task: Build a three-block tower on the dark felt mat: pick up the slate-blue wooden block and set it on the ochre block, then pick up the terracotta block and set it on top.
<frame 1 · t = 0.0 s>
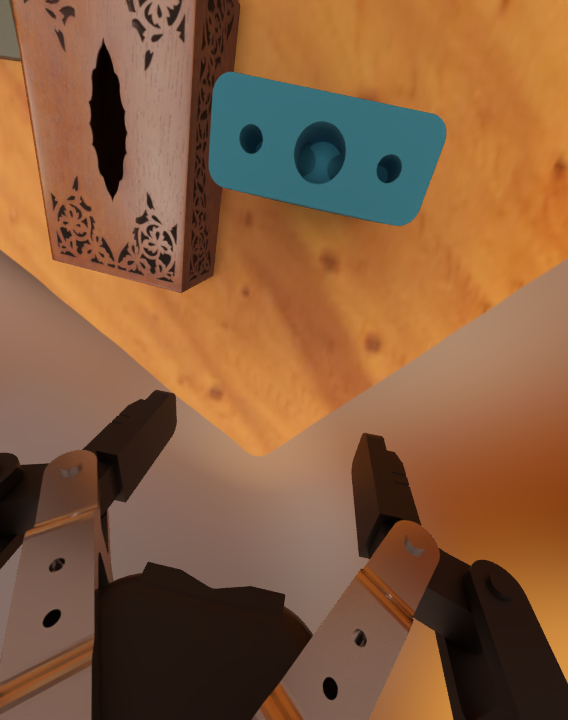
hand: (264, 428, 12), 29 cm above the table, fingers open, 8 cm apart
block: (323, 186, 33), on the table
tissue box cover: (166, 151, 34), on the table
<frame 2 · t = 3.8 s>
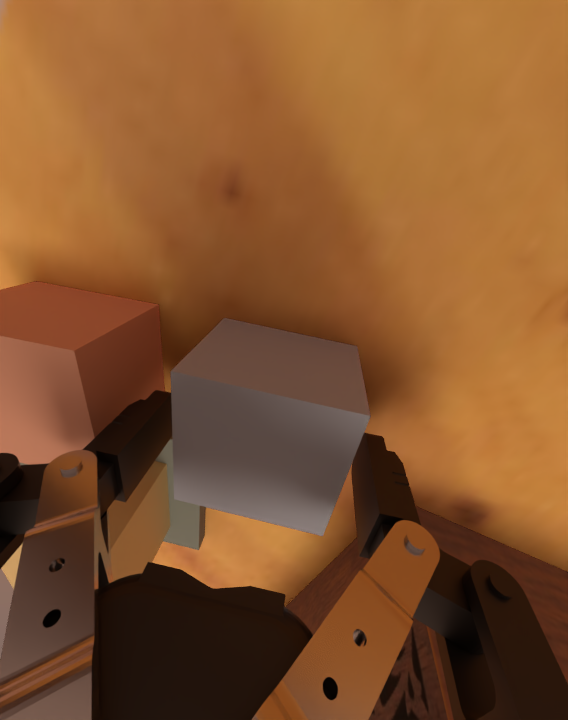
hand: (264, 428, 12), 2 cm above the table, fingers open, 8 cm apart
slate block: (279, 386, 14), on the table
felt mat: (103, 466, 19), on the table
ochre block: (122, 486, 18), point 1 cm above the table, touching felt mat
terracotta block: (108, 349, 15), on the table, touching gripper
tissue box cover: (383, 616, 23), on the table
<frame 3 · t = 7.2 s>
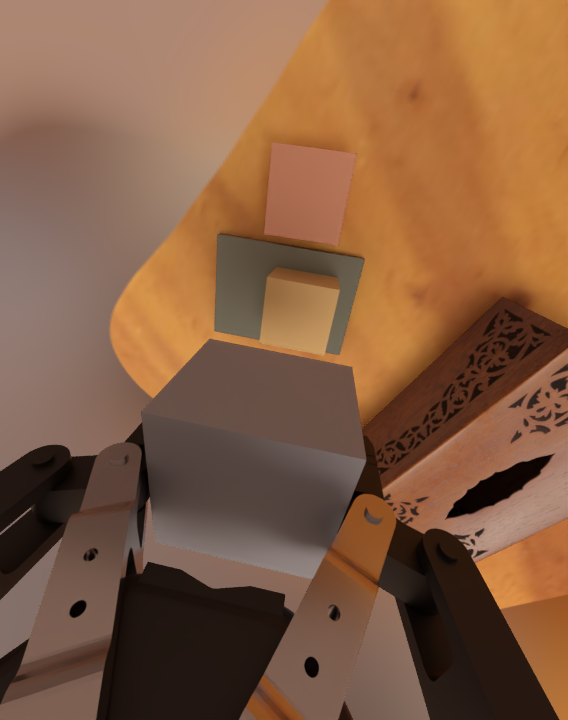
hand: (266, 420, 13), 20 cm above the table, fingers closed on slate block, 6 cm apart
slate block: (270, 410, 13), point 19 cm above the table, touching gripper
felt mat: (283, 296, 30), on the table
ochre block: (301, 302, 29), point 1 cm above the table, touching felt mat
terracotta block: (310, 199, 26), on the table
tissue box cover: (451, 417, 34), on the table
when the fingers open (8 cm above the table, at t = 9.9 s): slate block stays where it is, resting on ochre block.
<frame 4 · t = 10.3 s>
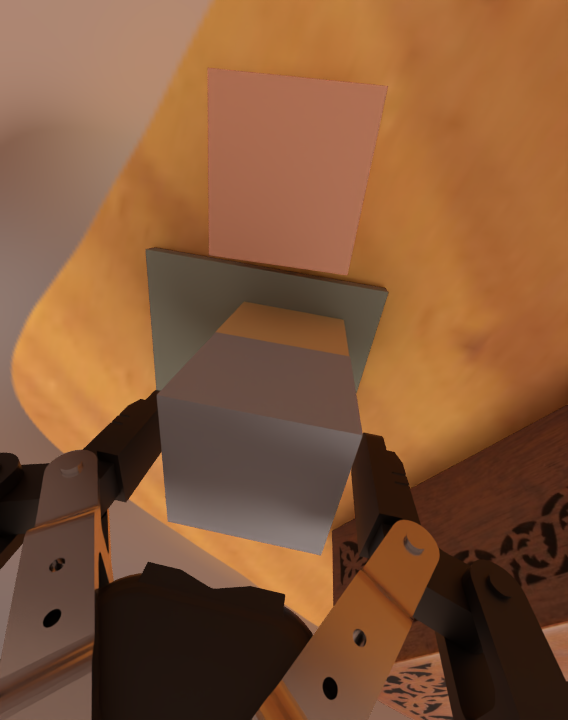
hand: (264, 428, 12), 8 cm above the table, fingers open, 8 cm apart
slate block: (274, 399, 14), point 6 cm above the table, touching ochre block
felt mat: (258, 343, 19), on the table
ochre block: (286, 355, 18), point 1 cm above the table, touching felt mat, slate block
terracotta block: (297, 191, 15), on the table
tissue box cover: (505, 509, 24), on the table
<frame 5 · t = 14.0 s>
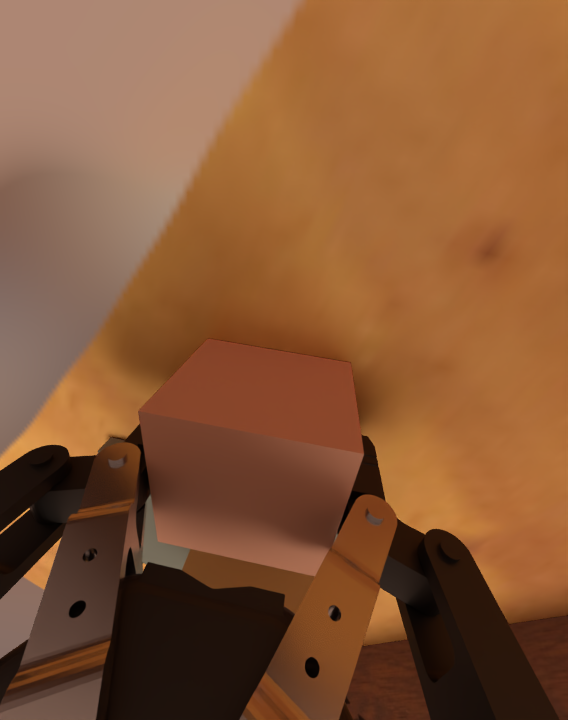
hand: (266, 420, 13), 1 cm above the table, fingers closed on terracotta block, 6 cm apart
felt mat: (230, 521, 18), on the table
ochre block: (259, 546, 17), point 1 cm above the table, touching felt mat, slate block
terracotta block: (271, 408, 13), on the table, touching gripper
tissue box cover: (504, 667, 22), on the table
when the fingers open (13 cm above the table, at t = 19.5 s): terracotta block stays where it is, resting on slate block.
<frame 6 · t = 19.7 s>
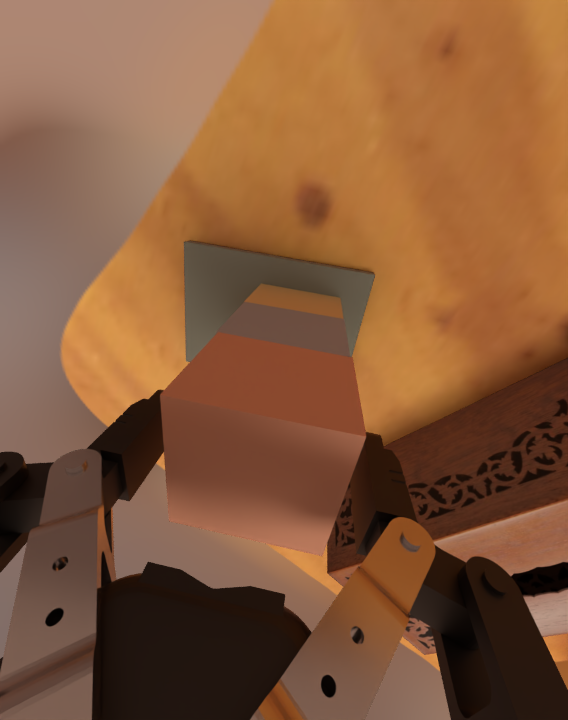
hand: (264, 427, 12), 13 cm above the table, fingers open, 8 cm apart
slate block: (286, 354, 18), point 6 cm above the table, touching ochre block, terracotta block
felt mat: (271, 319, 24), on the table
ochre block: (294, 327, 23), point 1 cm above the table, touching felt mat, slate block
terracotta block: (275, 399, 14), point 11 cm above the table, touching slate block
tissue box cover: (477, 463, 28), on the table
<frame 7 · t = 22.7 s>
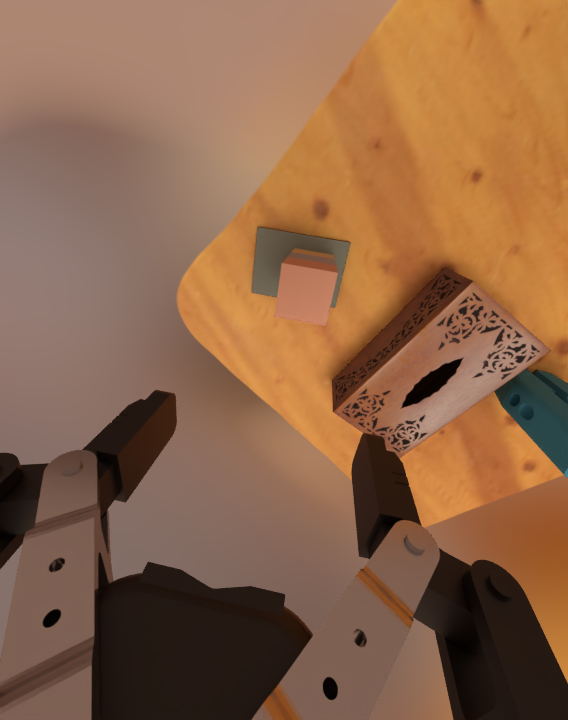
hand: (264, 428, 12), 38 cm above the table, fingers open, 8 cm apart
slate block: (309, 277, 40), point 6 cm above the table, touching ochre block, terracotta block
felt mat: (298, 268, 46), on the table
ochre block: (310, 271, 45), point 1 cm above the table, touching felt mat, slate block
terracotta block: (307, 285, 36), point 11 cm above the table, touching slate block
block: (520, 380, 50), on the table
tissue box cover: (412, 353, 50), on the table
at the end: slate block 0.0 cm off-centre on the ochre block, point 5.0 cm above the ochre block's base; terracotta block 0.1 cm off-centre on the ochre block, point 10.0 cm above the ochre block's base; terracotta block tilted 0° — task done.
